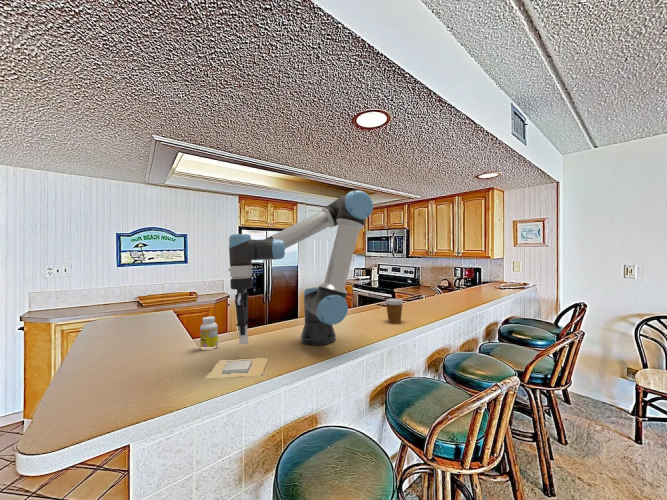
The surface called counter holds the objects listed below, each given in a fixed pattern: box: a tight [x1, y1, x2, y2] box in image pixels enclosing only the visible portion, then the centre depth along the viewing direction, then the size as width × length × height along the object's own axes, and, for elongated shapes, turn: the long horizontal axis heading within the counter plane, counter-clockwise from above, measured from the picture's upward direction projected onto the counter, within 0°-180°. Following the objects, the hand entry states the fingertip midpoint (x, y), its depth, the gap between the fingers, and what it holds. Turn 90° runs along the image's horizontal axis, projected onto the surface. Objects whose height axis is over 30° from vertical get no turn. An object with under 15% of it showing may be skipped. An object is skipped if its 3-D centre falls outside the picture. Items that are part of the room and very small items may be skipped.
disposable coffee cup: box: [384, 298, 404, 324], centre depth 162 cm, size 10×10×12 cm
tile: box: [222, 360, 252, 374], centre depth 100 cm, size 8×2×8 cm
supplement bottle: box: [199, 315, 219, 348], centre depth 124 cm, size 7×7×13 cm
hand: (243, 343), depth 108 cm, fingers closed
